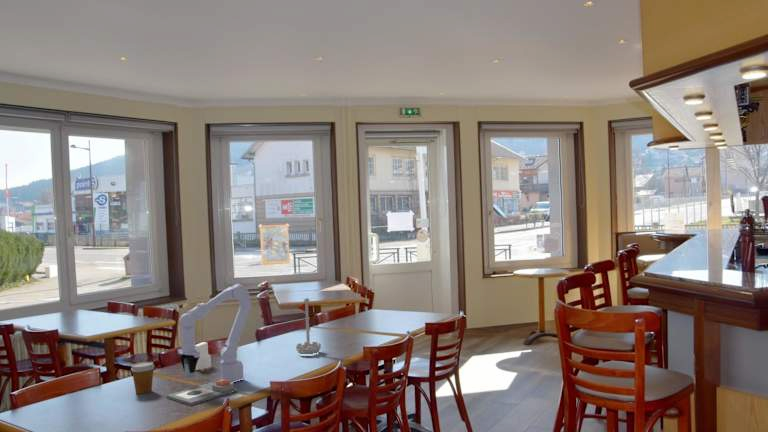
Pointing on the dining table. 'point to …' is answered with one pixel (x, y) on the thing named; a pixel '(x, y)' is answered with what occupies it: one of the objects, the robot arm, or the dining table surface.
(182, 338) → the robot arm
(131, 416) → the dining table surface
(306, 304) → the flag stand
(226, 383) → the button
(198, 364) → the base with upright slab
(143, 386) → the disposable coffee cup
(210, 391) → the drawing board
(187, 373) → the salt shaker
